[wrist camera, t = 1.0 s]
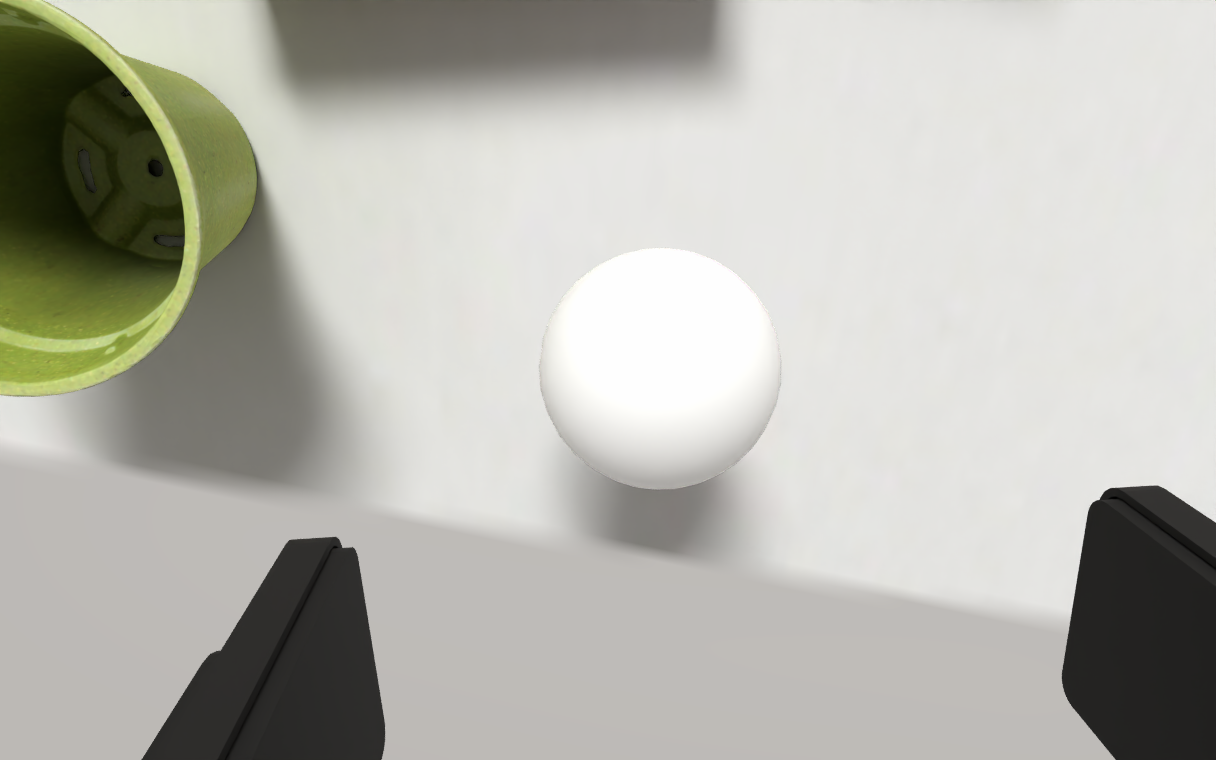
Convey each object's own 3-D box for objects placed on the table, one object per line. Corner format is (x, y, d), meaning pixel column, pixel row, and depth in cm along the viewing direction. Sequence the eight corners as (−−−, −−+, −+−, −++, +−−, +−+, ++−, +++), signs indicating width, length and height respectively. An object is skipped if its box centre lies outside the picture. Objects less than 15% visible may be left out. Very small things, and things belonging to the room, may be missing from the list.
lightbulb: (698, 398, 30) (760, 558, 20) (532, 359, 30) (506, 503, 19) (749, 233, 28) (847, 314, 18) (573, 187, 28) (570, 244, 17)
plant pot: (335, 299, 29) (238, 381, 20) (59, 322, 29) (-150, 413, 20) (280, 0, 26) (139, -44, 17) (-29, 25, 26) (-316, -7, 17)
